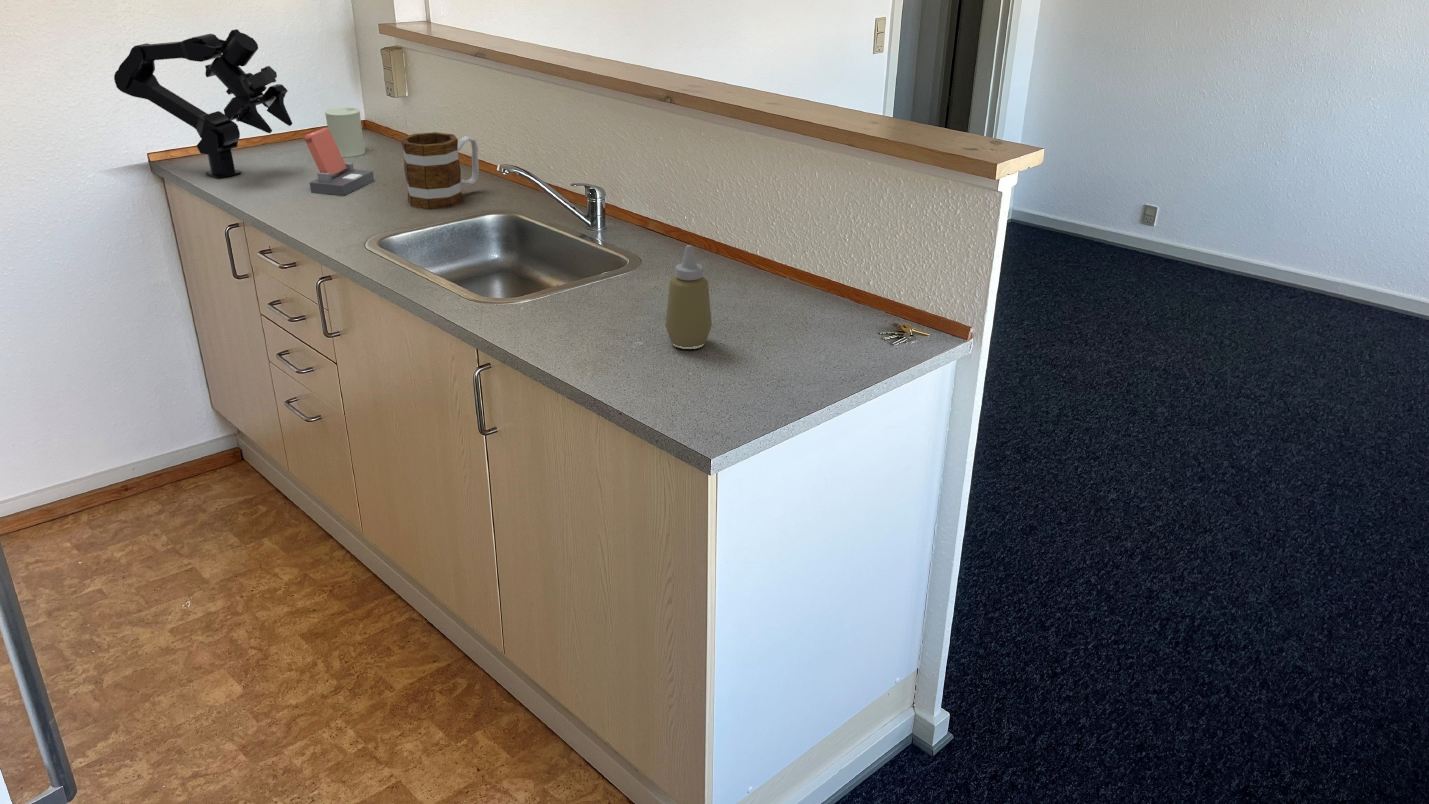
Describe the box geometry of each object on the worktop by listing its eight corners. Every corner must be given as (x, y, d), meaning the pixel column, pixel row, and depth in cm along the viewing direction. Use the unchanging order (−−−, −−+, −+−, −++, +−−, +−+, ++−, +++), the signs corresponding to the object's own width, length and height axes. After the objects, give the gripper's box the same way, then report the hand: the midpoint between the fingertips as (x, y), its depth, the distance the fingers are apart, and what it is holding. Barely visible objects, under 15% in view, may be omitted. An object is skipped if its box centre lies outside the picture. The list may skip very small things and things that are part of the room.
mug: (426, 213, 248) (419, 149, 241) (396, 200, 256) (388, 138, 249) (496, 196, 260) (491, 135, 253) (465, 185, 268) (460, 125, 261)
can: (372, 152, 295) (366, 108, 289) (346, 159, 288) (339, 114, 282) (350, 147, 299) (344, 104, 294) (323, 153, 292) (316, 110, 287)
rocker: (322, 178, 261) (302, 136, 257) (340, 170, 268) (321, 128, 264) (329, 176, 260) (309, 133, 256) (347, 168, 267) (328, 126, 263)
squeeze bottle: (664, 335, 188) (664, 238, 180) (709, 334, 189) (711, 238, 180) (666, 354, 181) (666, 254, 173) (713, 353, 182) (715, 254, 173)
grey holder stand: (311, 192, 260) (308, 174, 258) (342, 177, 272) (340, 160, 270) (343, 195, 258) (341, 177, 256) (374, 180, 270) (371, 163, 268)
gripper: (225, 63, 247) (274, 115, 250) (274, 50, 263) (320, 99, 266) (203, 94, 253) (251, 145, 255) (252, 80, 269) (297, 128, 271)
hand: (281, 128), depth 262 cm, fingers open, 8 cm apart
